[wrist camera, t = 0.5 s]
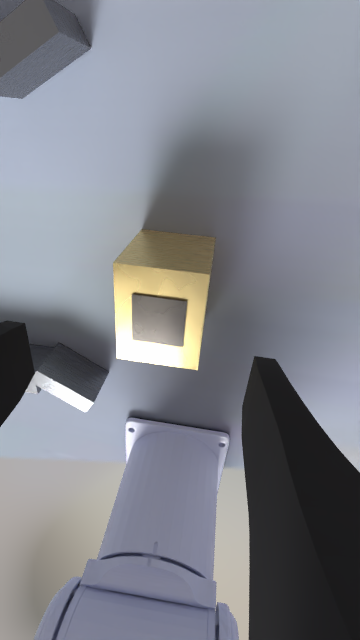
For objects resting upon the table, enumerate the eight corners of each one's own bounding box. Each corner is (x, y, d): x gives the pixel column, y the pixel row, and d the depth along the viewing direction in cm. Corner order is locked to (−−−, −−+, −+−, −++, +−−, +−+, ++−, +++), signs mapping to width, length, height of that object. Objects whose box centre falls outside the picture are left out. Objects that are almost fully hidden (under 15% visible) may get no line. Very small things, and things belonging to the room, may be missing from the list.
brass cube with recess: (205, 317, 20) (197, 371, 16) (141, 309, 20) (116, 359, 16) (215, 237, 17) (209, 275, 13) (142, 229, 18) (112, 263, 13)
